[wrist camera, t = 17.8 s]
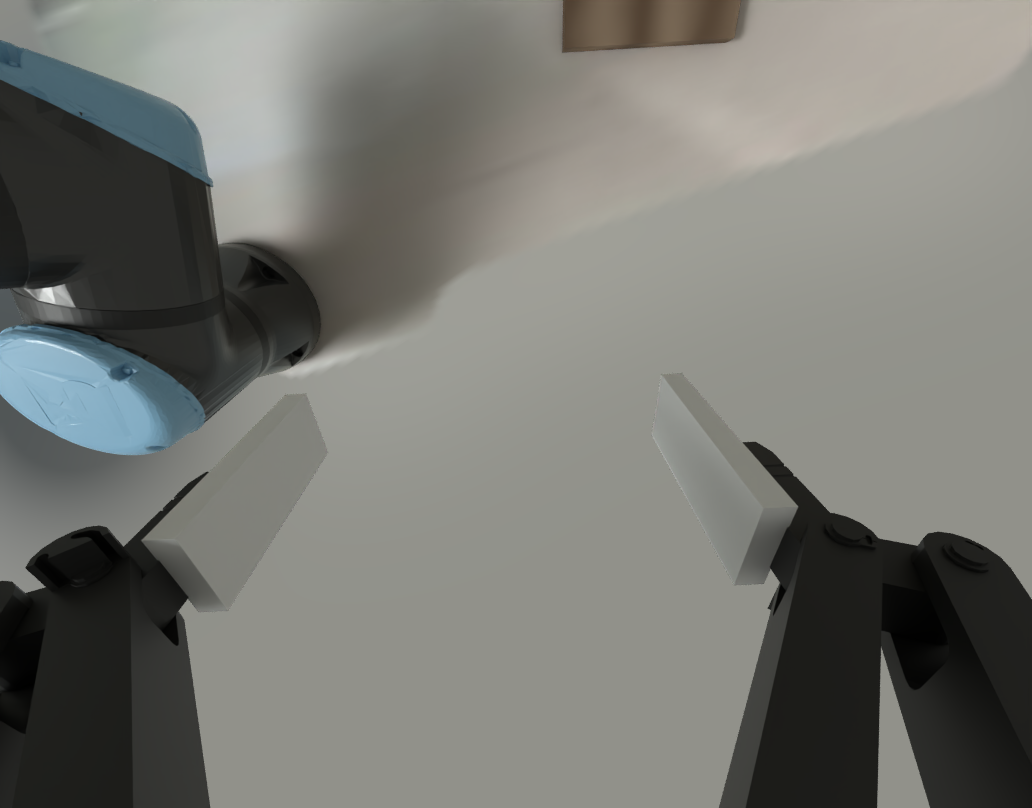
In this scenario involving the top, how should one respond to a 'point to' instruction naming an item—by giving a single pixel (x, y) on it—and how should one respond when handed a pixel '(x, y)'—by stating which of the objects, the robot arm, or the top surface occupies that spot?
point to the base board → (646, 23)
